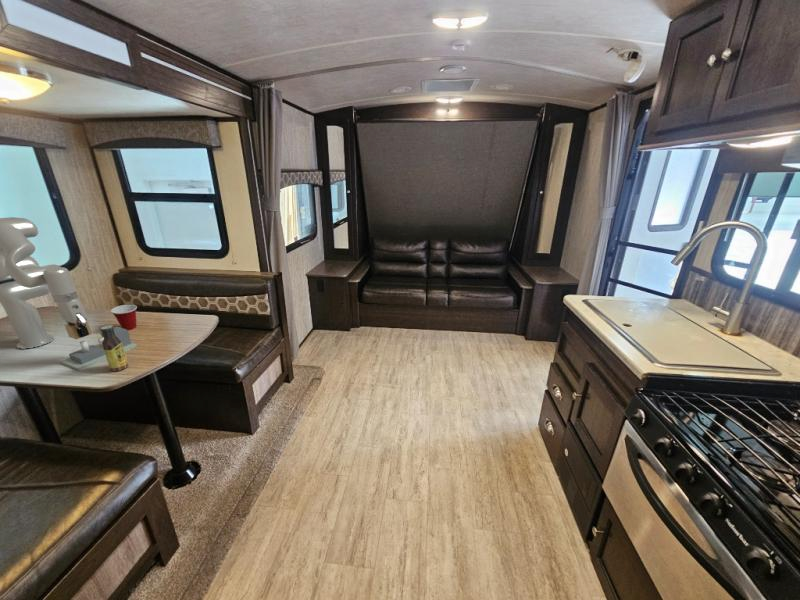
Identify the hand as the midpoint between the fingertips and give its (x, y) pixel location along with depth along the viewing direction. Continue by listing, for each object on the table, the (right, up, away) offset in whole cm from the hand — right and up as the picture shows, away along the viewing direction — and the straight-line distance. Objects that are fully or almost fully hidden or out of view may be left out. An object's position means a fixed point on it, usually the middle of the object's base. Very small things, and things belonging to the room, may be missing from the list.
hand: (80, 334), depth 144 cm
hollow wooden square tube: (0, 0, 0) cm, 1 cm away
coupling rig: (+1, -10, +9) cm, 14 cm away
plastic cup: (-6, 0, +34) cm, 34 cm away
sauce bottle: (+18, -15, -1) cm, 24 cm away
